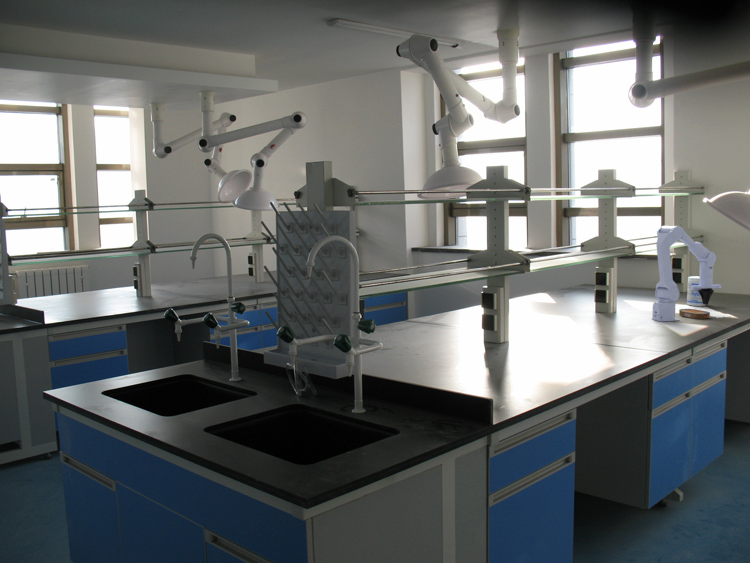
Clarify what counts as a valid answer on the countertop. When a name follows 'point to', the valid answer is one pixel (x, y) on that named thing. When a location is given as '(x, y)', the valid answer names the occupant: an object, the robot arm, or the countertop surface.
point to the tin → (694, 313)
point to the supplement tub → (693, 292)
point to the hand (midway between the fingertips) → (705, 304)
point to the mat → (717, 315)
